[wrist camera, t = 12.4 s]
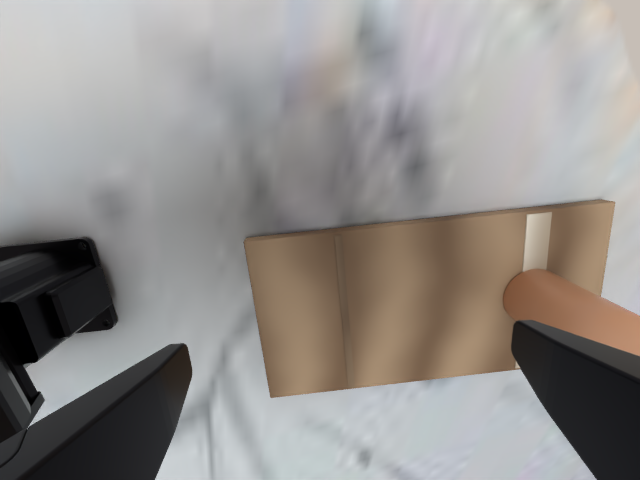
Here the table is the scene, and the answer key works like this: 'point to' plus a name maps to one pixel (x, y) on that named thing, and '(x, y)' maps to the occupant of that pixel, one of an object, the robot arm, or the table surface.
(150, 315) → the table surface
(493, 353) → the board
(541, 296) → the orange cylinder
